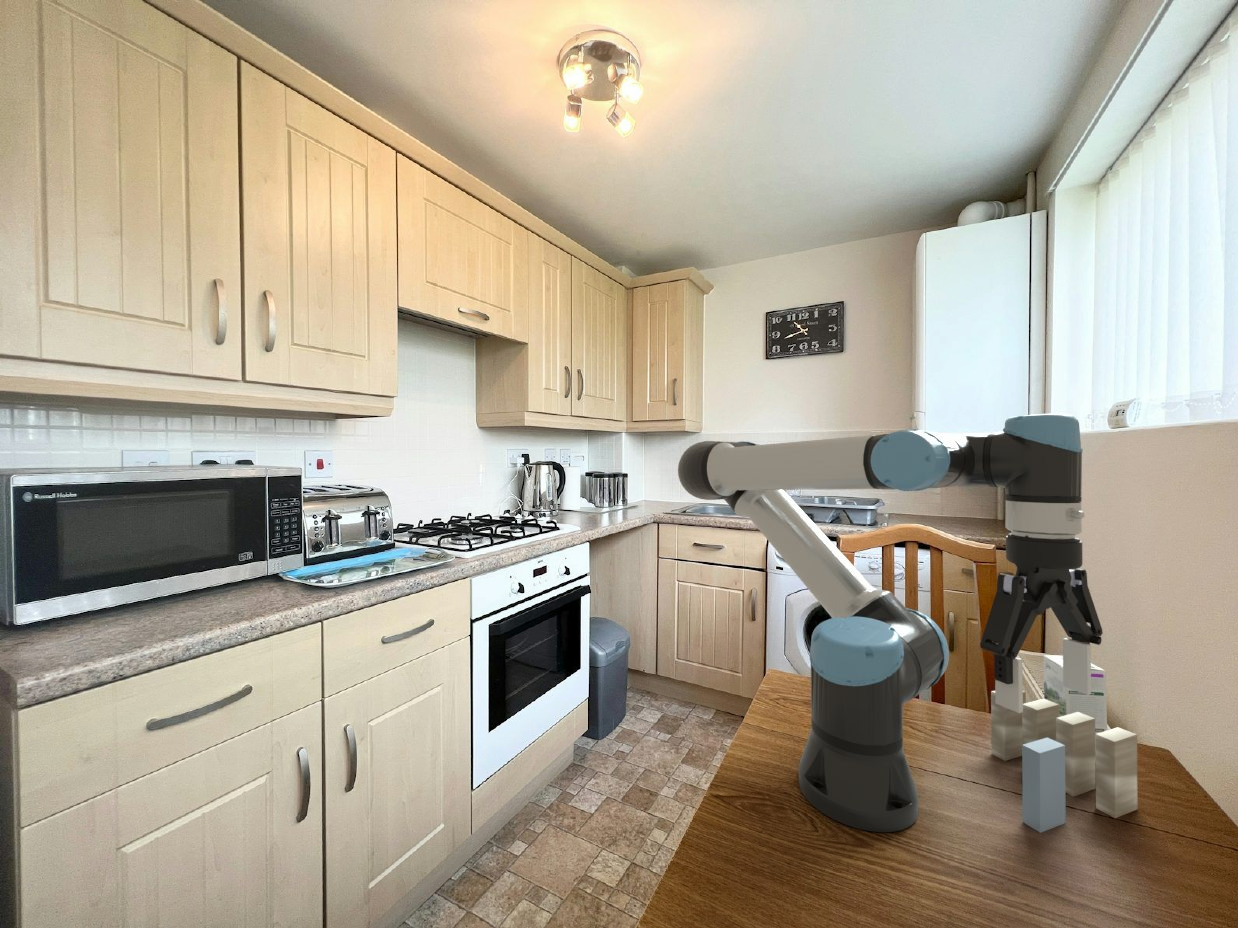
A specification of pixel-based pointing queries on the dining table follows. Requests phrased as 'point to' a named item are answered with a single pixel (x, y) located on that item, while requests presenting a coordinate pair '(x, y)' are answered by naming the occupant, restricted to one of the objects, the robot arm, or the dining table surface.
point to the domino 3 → (1043, 784)
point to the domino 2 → (1039, 720)
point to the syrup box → (1076, 693)
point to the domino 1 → (1006, 731)
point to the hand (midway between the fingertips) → (1044, 698)
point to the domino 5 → (1116, 772)
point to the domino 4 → (1077, 751)
